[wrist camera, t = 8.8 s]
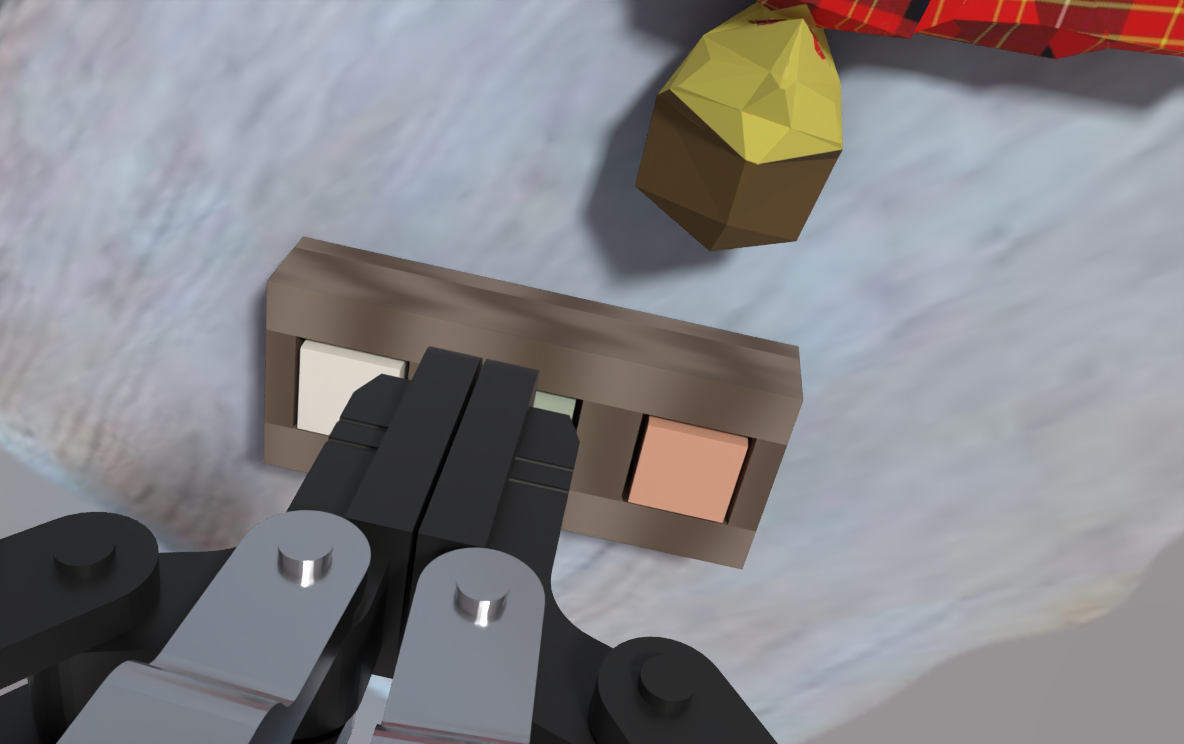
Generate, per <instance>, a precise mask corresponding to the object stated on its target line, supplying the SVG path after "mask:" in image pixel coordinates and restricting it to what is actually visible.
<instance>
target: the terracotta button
mask: <svg viewBox="0 0 1184 744" xmlns="http://www.w3.org/2000/svg"><path fill="white" fill-rule="evenodd" d="M747 448H748V436H743V435H739V434H734V433H730V432H725V431H721V430H716V429H712V428H707V427H703V426H698V425H694V424H689V423H685V422H680V421H676V420H671V419H667V418H662V417H658V416H653V415H649V414H646V415H645V419H644V423H643V427H642V431H641V434H640V438H639V442H638V446H637V450H636V453H635V457H634V463H633V470H632V477H631V485H630V492H629V499H628V502H631V503H635V504H640V505H644V506H649V507H653V508H658V509H662V510H667V511H671V512H676V513H680V514H685V515H689V516H694V517H698V518H703V519H707V520H712V521H716V522H721V523H723V520H724V517H725V514H726V511H727V508H728V505H729V502H730V499H731V496H732V493H733V490H734V487H735V484H736V481H737V478H738V475H739V472H740V469H741V466H742V463H743V460H744V457H745V454H746V451H747Z"/></svg>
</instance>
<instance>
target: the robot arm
mask: <svg viewBox="0 0 1184 744" xmlns="http://www.w3.org/2000/svg"><path fill="white" fill-rule="evenodd" d="M539 373H540V370H537V369H532V368H528V367H523V366H519V365H514V364H510V363H505V362H501V361H496V360H492V359H486V360H485V362H484V365H483V358H482V357H478V356H473V355H469V354H464V353H460V352H455V351H451V350H446V349H442V348H437V347H433V346H429V347H428V348H427V349H426V351H425V353H424V355H423V357H422V359H421V362H420V364H419V366H418V368H417V370H416V372H415V374H414V376H413V378H412V380H409V379H404V378H400V377H395V376H391V375H386V374H382V373H381V374H380V375H378V376H377V377H375V378H374V379H372V380H371V381H369V382H368V383H366V384H365V385H363V386H362V387H360V388H359V389H357V390H356V391H354V392H353V394H352V396H351V398H350V399H349V401H348V403H347V405H346V406H345V408H344V410H343V412H342V414H341V415H340V419H339V421H337V422H336V424H335V426H334V428H333V430H332V431H331V433H330V435H329V438H328V441H327V442H325V444H324V446H323V447H322V449H321V451H320V453H319V454H318V456H317V458H316V460H315V462H314V463H313V465H312V467H311V469H310V471H309V472H308V474H307V476H306V478H305V479H304V481H303V483H302V485H301V487H300V488H299V490H298V492H297V494H296V495H295V497H294V499H293V501H292V503H291V504H290V506H289V508H288V510H287V511H286V513H282V514H278V515H275V516H272V517H270V518H267V519H266V520H264V521H262V522H260V523H259V524H257V525H256V526H255V527H253V528H252V529H251V530H250V531H249V532H248V533H247V534H246V535H245V537H244V538H243V539H242V541H241V542H240V544H239V545H238V546H237V547H234V548H231V549H225V550H219V551H208V552H173V553H158V544H157V541H156V539H155V537H154V536H153V534H152V532H151V531H150V530H149V529H148V528H147V527H146V526H144V525H143V524H141V523H140V522H138V521H136V520H134V519H132V518H129V517H127V516H123V515H119V514H115V513H107V512H87V513H78V514H73V515H68V516H64V517H61V518H58V519H55V520H52V521H49V522H47V523H44V524H41V525H38V526H36V527H33V528H30V529H27V530H25V531H22V532H20V533H17V534H14V535H11V536H9V537H6V538H3V539H0V689H2V688H4V687H7V686H9V685H11V684H13V683H16V682H18V681H20V680H22V679H25V678H27V680H28V684H26V685H23V686H21V687H19V688H17V689H15V690H12V691H10V692H8V693H6V694H4V695H2V696H0V744H347V743H348V740H349V738H350V736H351V734H352V731H353V728H354V724H355V715H356V711H357V709H358V707H359V705H360V703H361V701H362V698H363V696H364V693H365V691H366V688H367V685H368V683H369V680H370V677H371V675H372V674H373V675H378V676H382V677H387V678H391V679H393V681H392V684H391V688H390V692H389V696H388V700H387V704H386V708H385V712H384V716H383V719H382V722H381V725H379V724H377V726H376V728H375V731H374V734H373V737H372V740H371V743H370V744H778V743H777V742H776V741H775V740H774V738H773V737H772V736H771V735H770V733H769V732H768V731H767V730H766V728H765V727H764V726H763V725H762V723H761V722H760V721H759V720H758V718H757V717H756V716H755V715H754V713H753V712H752V711H751V710H750V708H749V707H748V706H747V705H746V703H745V702H744V701H743V700H742V698H741V697H740V696H739V695H738V693H737V692H736V691H735V690H734V688H733V687H732V686H731V685H730V683H729V682H728V681H727V679H726V678H725V677H724V676H723V674H722V673H721V672H720V671H719V669H718V668H717V667H716V666H715V665H714V664H713V663H712V662H711V661H710V660H709V659H708V658H707V657H705V656H704V655H703V654H702V653H700V652H699V651H697V650H695V649H694V648H692V647H690V646H688V645H686V644H684V643H681V642H678V641H675V640H672V639H667V638H662V637H640V638H635V639H631V640H628V641H626V642H623V643H621V644H619V645H618V646H616V647H615V648H611V647H610V646H608V645H606V644H604V643H602V642H600V641H598V640H596V639H594V638H592V637H591V636H589V635H587V634H586V633H584V632H582V631H581V630H580V629H578V628H577V627H576V626H575V625H573V624H572V623H571V622H570V621H569V620H568V619H567V618H566V617H565V616H564V614H563V613H562V611H561V610H560V609H559V607H558V605H557V603H556V601H555V599H554V597H553V593H552V590H551V573H552V568H553V563H554V559H555V554H556V550H557V545H558V540H559V536H560V531H561V527H562V522H563V517H564V513H565V508H566V504H567V499H568V494H569V490H570V485H571V481H572V476H573V471H574V467H575V462H576V458H577V453H578V449H579V444H580V441H579V438H578V435H577V433H576V430H575V428H574V425H573V423H572V420H571V418H570V415H567V414H562V413H558V412H553V411H549V410H544V409H540V408H535V407H533V406H534V401H535V396H536V391H537V385H538V380H539Z"/></svg>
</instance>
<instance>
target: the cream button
mask: <svg viewBox="0 0 1184 744" xmlns="http://www.w3.org/2000/svg"><path fill="white" fill-rule="evenodd" d="M409 366H410V361H406V360H401V359H397V358H392V357H388V356H383V355H379V354H374V353H370V352H365V351H361V350H356V349H352V348H347V347H343V346H338V345H334V344H329V343H325V342H320V341H316V340H311V339H306V341H305V342H304V343H303V345H302V346H301V350H300V375H299V401H298V426H297V428H298V429H303V430H307V431H312V432H316V433H321V434H325V435H330V433H331V431H332V430H333V428H334V426H335V424H336V422H337V421H339V419H340V415H341V414H342V412H343V410H344V408H345V406H346V405H347V403H348V401H349V399H350V398H351V396H352V394H353V392H354V391H356V390H357V389H359V388H360V387H362V386H363V385H365V384H366V383H368V382H369V381H371V380H372V379H374V378H375V377H377V376H378V375H380V374H381V373H382V374H386V375H391V376H395V377H400V378H404V379H408V375H409Z"/></svg>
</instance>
